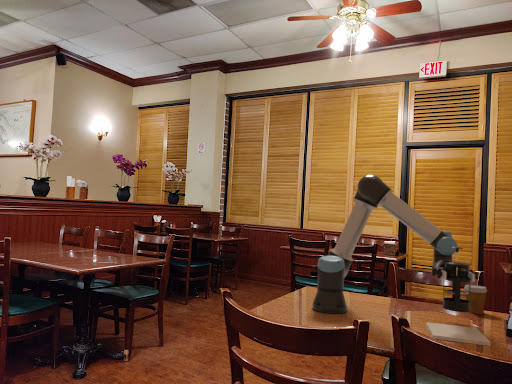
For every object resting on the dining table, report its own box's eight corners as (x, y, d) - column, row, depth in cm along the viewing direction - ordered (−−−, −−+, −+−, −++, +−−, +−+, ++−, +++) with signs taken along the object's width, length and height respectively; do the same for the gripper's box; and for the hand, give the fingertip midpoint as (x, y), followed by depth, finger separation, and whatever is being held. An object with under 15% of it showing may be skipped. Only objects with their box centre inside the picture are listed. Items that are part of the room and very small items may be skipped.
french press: (472, 314, 136) (473, 248, 137) (443, 310, 140) (444, 246, 141) (468, 307, 147) (469, 246, 148) (441, 304, 151) (442, 245, 152)
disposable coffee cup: (491, 314, 178) (492, 288, 178) (475, 315, 175) (475, 288, 176) (474, 309, 187) (475, 284, 188) (458, 309, 184) (459, 284, 185)
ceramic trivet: (433, 338, 137) (433, 335, 137) (426, 325, 154) (426, 322, 154) (490, 345, 132) (490, 342, 132) (476, 331, 149) (476, 328, 149)
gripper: (475, 280, 158) (492, 290, 136) (419, 276, 164) (427, 284, 142) (475, 262, 158) (492, 268, 137) (419, 258, 165) (427, 264, 143)
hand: (459, 276), depth 140 cm, fingers closed on french press, 8 cm apart
